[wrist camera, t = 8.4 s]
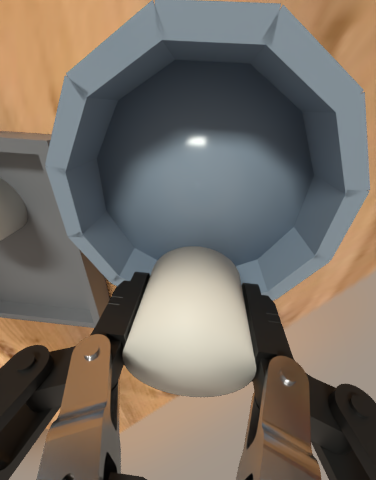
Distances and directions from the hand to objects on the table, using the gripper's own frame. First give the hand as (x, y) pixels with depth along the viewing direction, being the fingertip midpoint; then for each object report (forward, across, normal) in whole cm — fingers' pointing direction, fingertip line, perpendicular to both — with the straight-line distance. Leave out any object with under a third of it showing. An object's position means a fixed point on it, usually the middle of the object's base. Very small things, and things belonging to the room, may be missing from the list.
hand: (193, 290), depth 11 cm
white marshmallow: (+1, 0, 0) cm, 1 cm away
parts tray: (+7, +16, +3) cm, 18 cm away
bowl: (+7, 0, -3) cm, 8 cm away
